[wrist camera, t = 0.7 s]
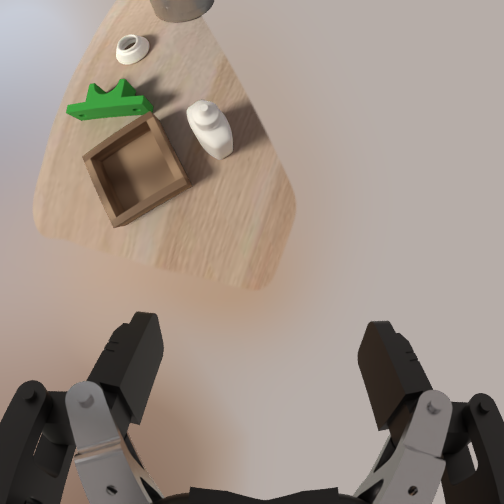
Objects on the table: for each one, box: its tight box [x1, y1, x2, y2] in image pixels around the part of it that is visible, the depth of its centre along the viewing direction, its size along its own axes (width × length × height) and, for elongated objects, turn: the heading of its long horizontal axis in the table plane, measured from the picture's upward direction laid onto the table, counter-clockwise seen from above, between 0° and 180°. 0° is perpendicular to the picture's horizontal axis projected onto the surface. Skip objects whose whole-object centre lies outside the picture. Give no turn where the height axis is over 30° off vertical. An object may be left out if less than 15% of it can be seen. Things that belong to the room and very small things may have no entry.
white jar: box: [116, 34, 149, 65], centre depth 28 cm, size 5×3×5 cm
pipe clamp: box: [66, 79, 153, 121], centre depth 28 cm, size 11×4×5 cm, turn 85°
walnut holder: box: [83, 111, 192, 228], centre depth 30 cm, size 10×10×4 cm
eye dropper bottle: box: [187, 100, 233, 160], centre depth 26 cm, size 4×6×12 cm
